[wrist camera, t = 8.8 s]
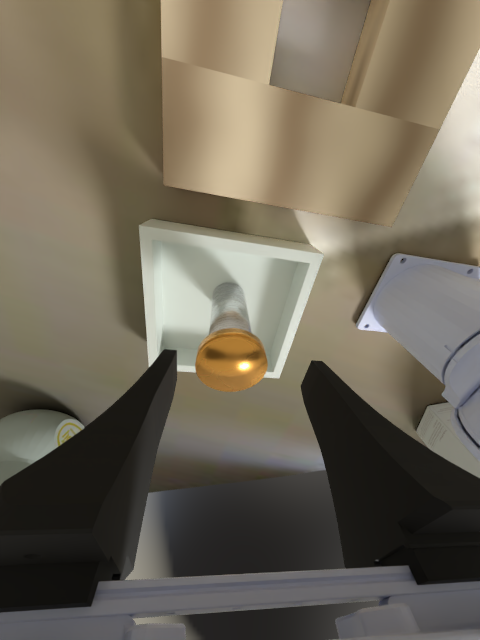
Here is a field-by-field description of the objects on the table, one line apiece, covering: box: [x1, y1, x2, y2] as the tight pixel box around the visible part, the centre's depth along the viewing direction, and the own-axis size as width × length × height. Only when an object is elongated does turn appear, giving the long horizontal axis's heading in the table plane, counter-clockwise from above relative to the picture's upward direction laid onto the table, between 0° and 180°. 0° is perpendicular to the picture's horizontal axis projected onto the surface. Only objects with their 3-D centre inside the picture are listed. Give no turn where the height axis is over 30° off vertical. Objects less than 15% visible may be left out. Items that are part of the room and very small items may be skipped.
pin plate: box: [161, 0, 480, 227], centre depth 12 cm, size 16×16×2 cm
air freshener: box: [0, 409, 85, 485], centre depth 25 cm, size 11×8×10 cm
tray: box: [139, 219, 324, 378], centre depth 20 cm, size 13×13×3 cm
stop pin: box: [195, 282, 268, 392], centre depth 17 cm, size 4×4×9 cm
